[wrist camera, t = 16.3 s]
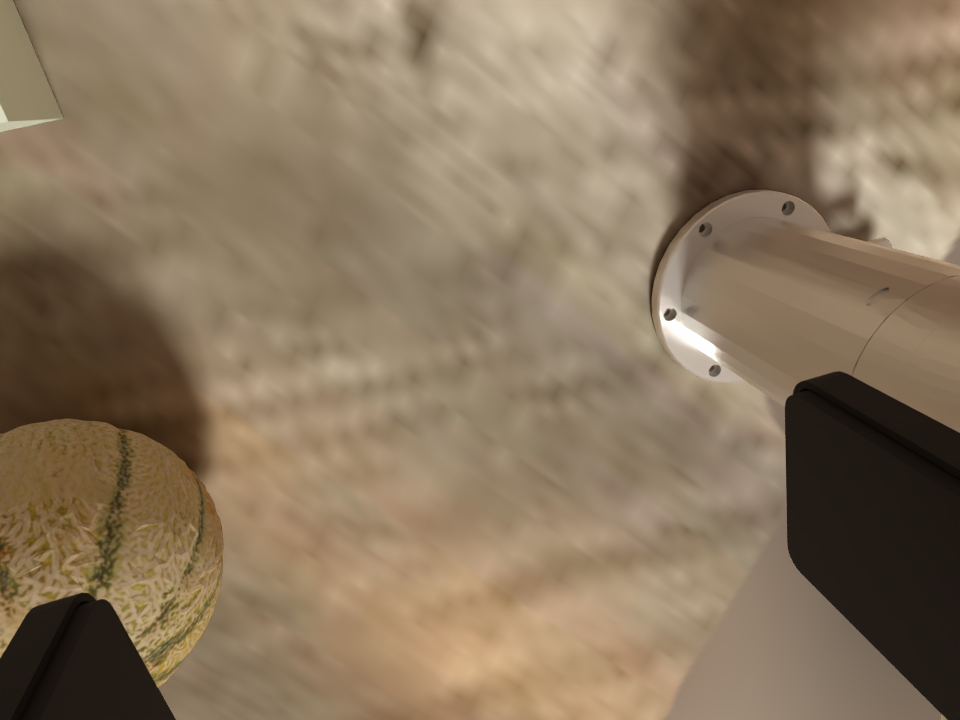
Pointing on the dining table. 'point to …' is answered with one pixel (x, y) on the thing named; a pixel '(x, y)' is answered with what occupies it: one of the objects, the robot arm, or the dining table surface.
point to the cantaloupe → (108, 534)
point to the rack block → (21, 76)
